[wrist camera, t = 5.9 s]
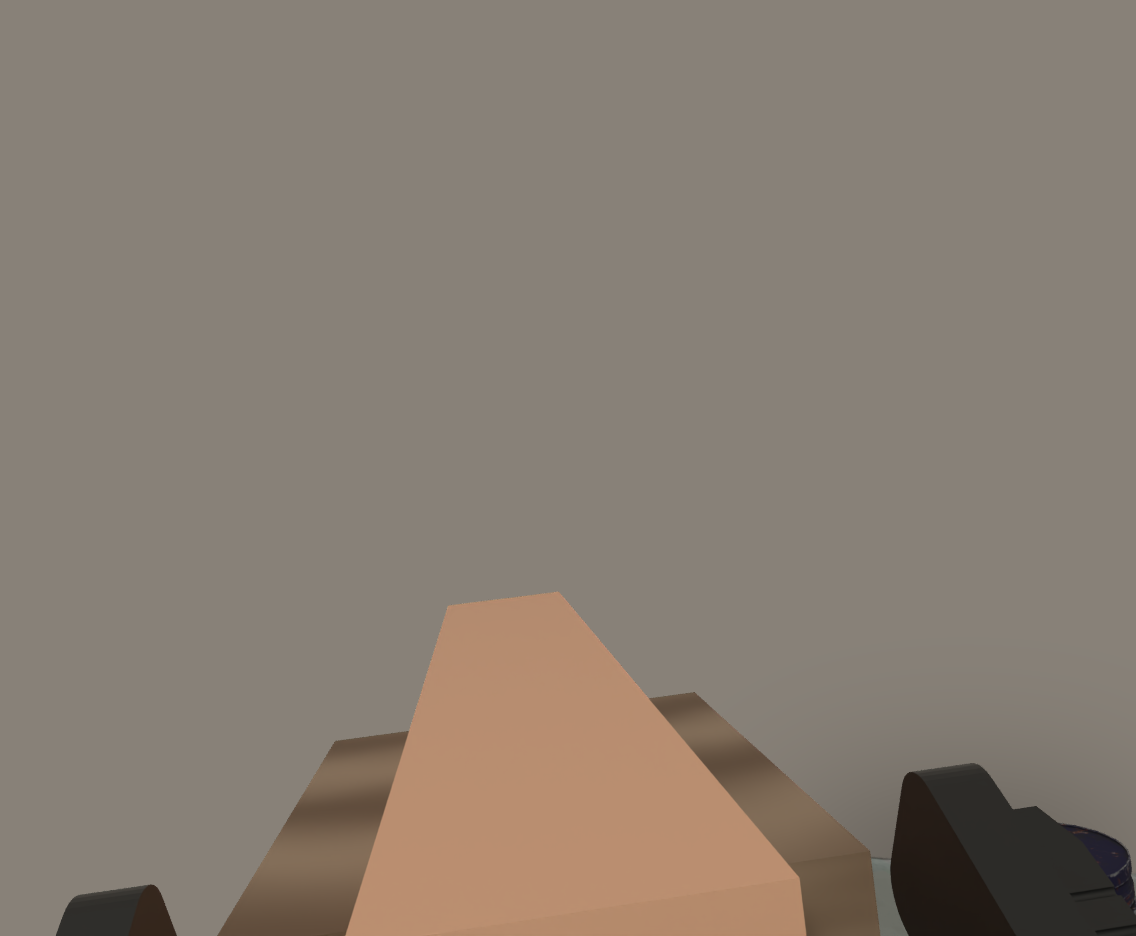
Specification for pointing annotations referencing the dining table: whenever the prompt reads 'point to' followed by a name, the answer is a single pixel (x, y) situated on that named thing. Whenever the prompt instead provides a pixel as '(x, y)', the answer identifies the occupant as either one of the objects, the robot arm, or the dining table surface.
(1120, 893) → the storage jar
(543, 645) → the block
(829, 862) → the wooden pedestal stand
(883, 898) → the dining table surface
